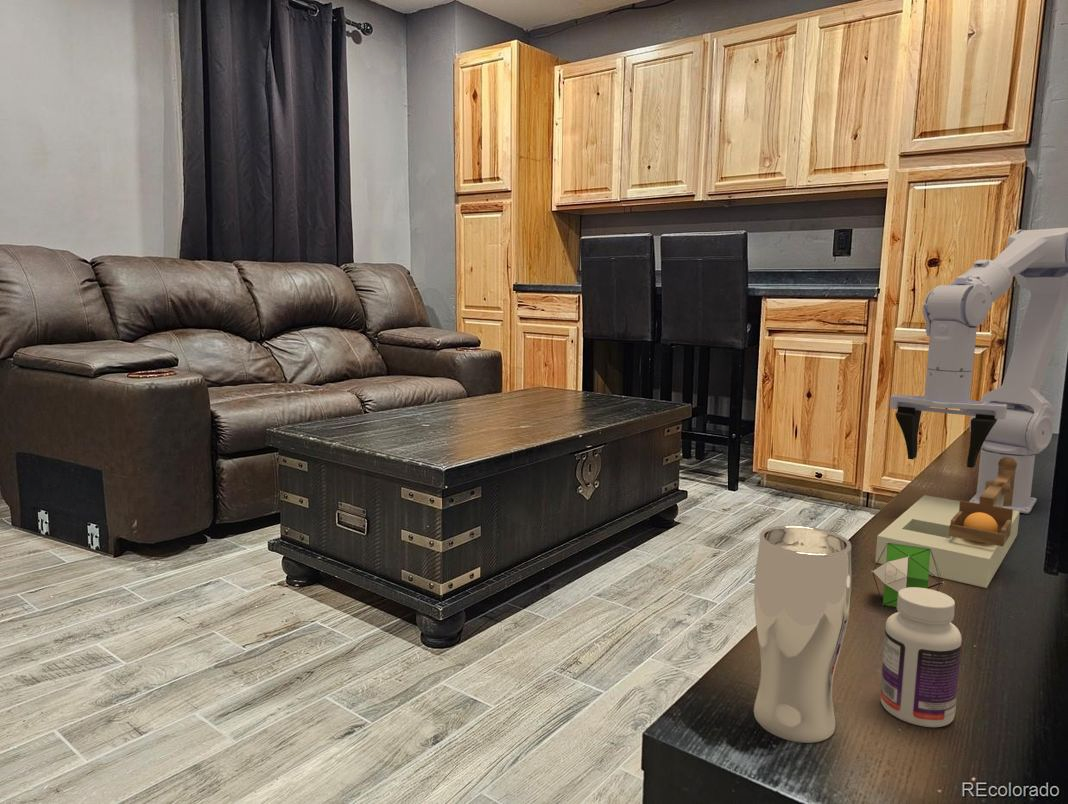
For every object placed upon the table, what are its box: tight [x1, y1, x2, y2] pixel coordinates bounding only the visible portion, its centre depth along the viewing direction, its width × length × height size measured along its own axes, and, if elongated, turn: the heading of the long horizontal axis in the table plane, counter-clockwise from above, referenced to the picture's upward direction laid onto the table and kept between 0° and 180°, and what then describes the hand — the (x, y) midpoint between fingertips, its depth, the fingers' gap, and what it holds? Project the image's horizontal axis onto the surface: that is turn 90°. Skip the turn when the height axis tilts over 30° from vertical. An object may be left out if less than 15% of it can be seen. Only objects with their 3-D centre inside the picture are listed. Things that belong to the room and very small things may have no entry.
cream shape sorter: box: [875, 494, 1020, 589], centre depth 94 cm, size 24×12×7 cm, turn 139°
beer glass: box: [753, 525, 852, 744], centre depth 56 cm, size 7×7×15 cm
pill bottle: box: [880, 587, 962, 728], centre depth 57 cm, size 5×5×10 cm
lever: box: [949, 457, 1017, 546], centre depth 93 cm, size 22×6×7 cm, turn 139°
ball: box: [963, 512, 998, 533], centre depth 87 cm, size 4×4×4 cm
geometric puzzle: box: [870, 542, 945, 608], centre depth 77 cm, size 7×7×8 cm
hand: (940, 462), depth 104 cm, fingers open, 7 cm apart
